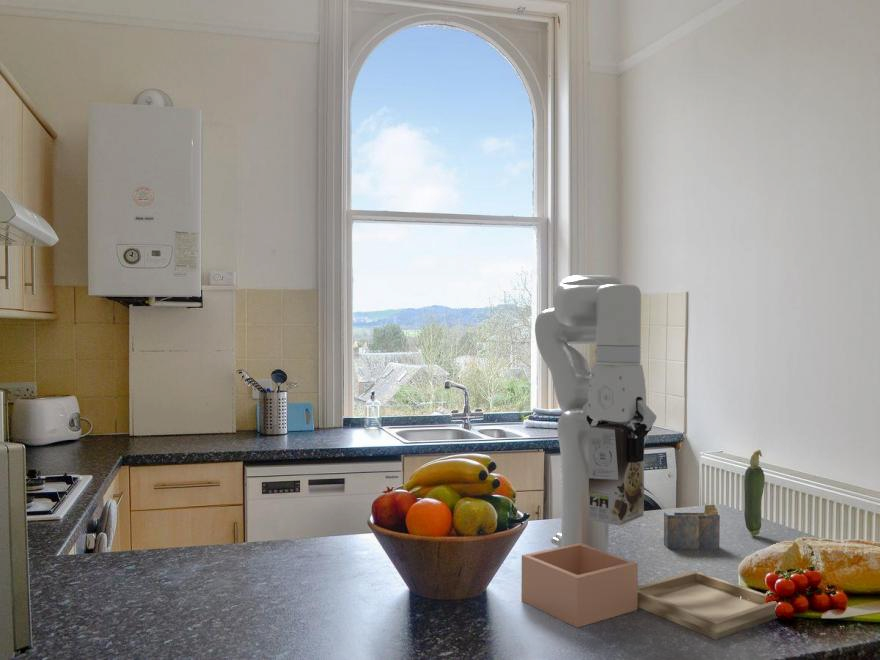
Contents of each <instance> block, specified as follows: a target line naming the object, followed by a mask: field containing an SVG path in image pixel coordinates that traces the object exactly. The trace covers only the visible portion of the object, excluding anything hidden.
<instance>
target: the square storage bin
mask: <svg viewBox="0 0 880 660" xmlns="http://www.w3.org/2000/svg"><path fill="white" fill-rule="evenodd" d="M638 565H639V563H638V562H636V561H633V560H630V559H627V558H624V557H621V556H619V555H615V554H613V553H610V552H609V553H608V552H605V551H602V550H599V549H596V548H593V547H590V546H588V545H585V544H582V543H577V544H572V545H568V546H563V547H555V548H549V549H544V550H540V551H535V552H531V553H527V554H522V555H521V593H520V594H521V600H522V601H521V602H524V603H525V604H528V605H530V606H531V607H534V608H535V609H538V610H540V611H542V612H544V613H546V614H549V615H550V616H553V617H554V618H557V619H558V620H561V621H562V622H564V623H567V624H568V625H571V626H573V627H574V628H581V627H584V626H587V625H590V624H591V625H592V624H594V623H597V622H601V621H604V620H607V619H611V618H615V617H618V616H621V615H624V614H627V613H631V612H635V611H637V610H638V607H637V604H638V586H639V585H638V583H639V582H638V581H639V579H638V578H639V577H638V576H639V575H638V573H639V569H638V568H639V567H638Z"/></svg>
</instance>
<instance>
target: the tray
mask: <svg viewBox="0 0 880 660" xmlns="http://www.w3.org/2000/svg"><path fill="white" fill-rule="evenodd" d="M766 595H767V594H765V593H763V592H760V591H757V590H754V589H751V588H747V587H745V586H742V585H739V584H736V583H733V582H730V581H727V580H724V579H721V578H717V577H714V576H712V575H708V574H706V573H704V572H700V571H697V570H693V571H690V572H689V571H688V572H686V573H682V574H678V575H675V576H670V577H668V578H664V579H660V580H656V581H652V582H648V583H645V584H641V585H638V604H637V608H638V609H642V610H643V611H646V612H649V613H651V614H654V615H656V616H658V617H660V618H664V619H666V620H668V621H671V622H673V623H675V624H677V625H679V626H681V627H685V628H687V629H690V630H691V631H695V632H696V633H699V634H702V635H705V636H706V637H709V638H712V639H714V640H717V641H718V640H720V639H723V638H726V637H728V636H730V635H734V634H736V633H737V634H738V633H739V632H743V631H745V630H748V629H750V628H753V627H756V626H759V625H762V624H764V623H767V622H770V621H773V620H775V619H779V618H778V617H777V616H776V613H775V606H776V604H777V602H776V601H771V602H768V603H765V597H766ZM740 596H741V597H742V598H741V600H740ZM748 599H749V600H748Z"/></svg>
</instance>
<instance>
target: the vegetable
mask: <svg viewBox="0 0 880 660" xmlns="http://www.w3.org/2000/svg"><path fill="white" fill-rule="evenodd" d="M761 457H763V455H762V451H761V449H758V450H756V451H754V452H753V454H751V456H750V461H749V466H748V467H747V468H746V469H745V472H744V481H743V482H744V485H743V486H744V487H743V489H744V512H743V513H744V522H745V527H746V528H747V531H748V532H749V534H750V535H751V536H752V537H755V536H758V535H759V533H760V530H761V528H762V510H761V509H762V505H761V504H762V497H763V496H764V488H765V483H766V482H765V480H766V478H765V473H764V470H763V469H762V467H761V466H760V458H761Z"/></svg>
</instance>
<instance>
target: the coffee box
mask: <svg viewBox="0 0 880 660" xmlns="http://www.w3.org/2000/svg"><path fill="white" fill-rule="evenodd" d="M634 428H635V430H636V429H637V428H636V425H634ZM628 438H631V437H630V435H629V432H628V429H627V428H626V425H625V424H616V423H606V424H601V425H596V426H590V439H589V500H588V501H589V502H588V519H590V520H595V521H600V522H604V523H609V525H614V526H623V525H625V524H627V523H630V522H632V521H634V520H636V519H639V518H641V517H643V516H644V515H645V459H644V460H643V461H642V462H634V463H630V462H628V461H627V440H628Z"/></svg>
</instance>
